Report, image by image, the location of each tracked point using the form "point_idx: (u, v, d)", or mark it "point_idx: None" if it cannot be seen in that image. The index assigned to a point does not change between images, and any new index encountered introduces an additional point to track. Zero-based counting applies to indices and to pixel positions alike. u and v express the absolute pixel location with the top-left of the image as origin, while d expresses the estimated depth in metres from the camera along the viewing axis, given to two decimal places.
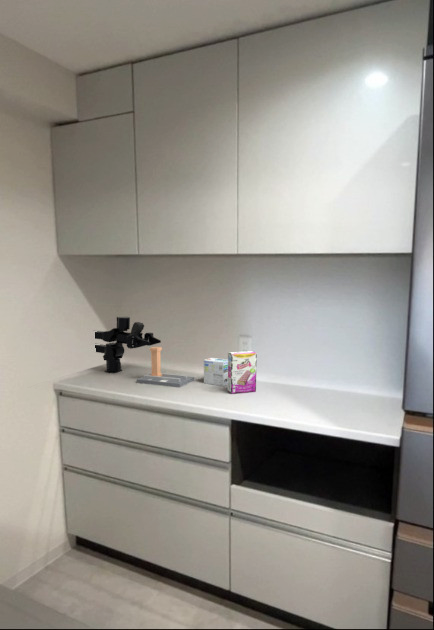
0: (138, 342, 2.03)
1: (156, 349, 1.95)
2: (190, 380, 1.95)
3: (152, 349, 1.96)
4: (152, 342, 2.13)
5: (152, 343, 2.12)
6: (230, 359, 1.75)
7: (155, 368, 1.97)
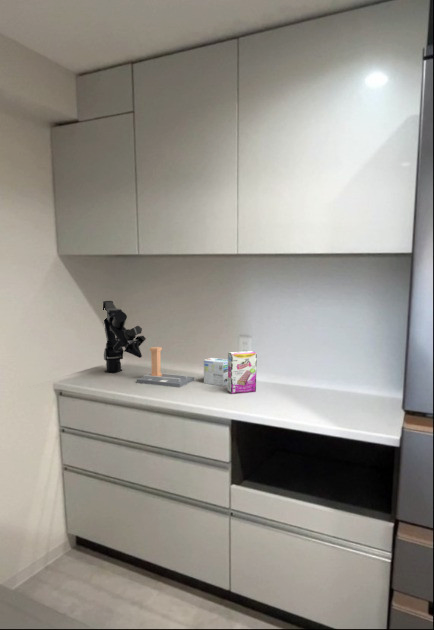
0: (131, 348, 2.01)
1: (156, 349, 1.95)
2: (190, 380, 1.95)
3: (152, 349, 1.96)
4: None
5: None
6: (230, 359, 1.75)
7: (155, 368, 1.97)
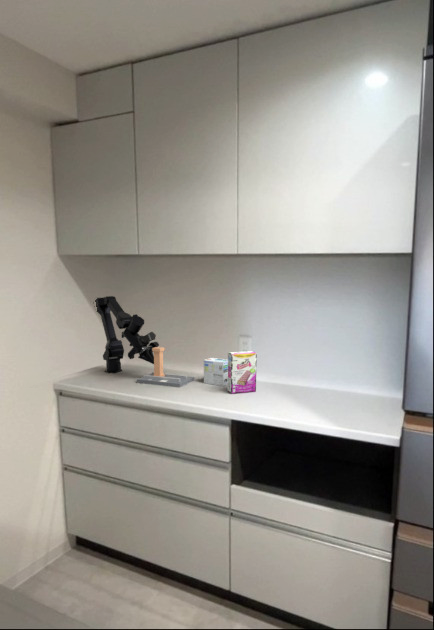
0: (145, 355, 1.98)
1: (159, 349, 1.95)
2: (190, 380, 1.95)
3: (155, 349, 1.95)
4: None
5: None
6: (230, 359, 1.75)
7: (158, 368, 1.96)
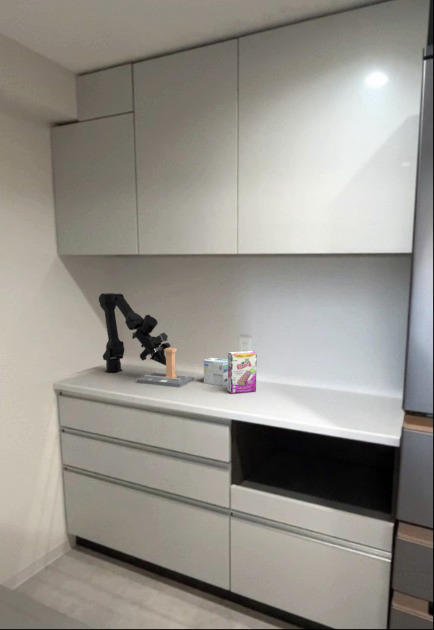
0: (157, 356, 1.96)
1: (171, 350, 1.92)
2: (190, 380, 1.95)
3: (167, 350, 1.93)
4: None
5: None
6: (230, 359, 1.75)
7: (170, 369, 1.94)
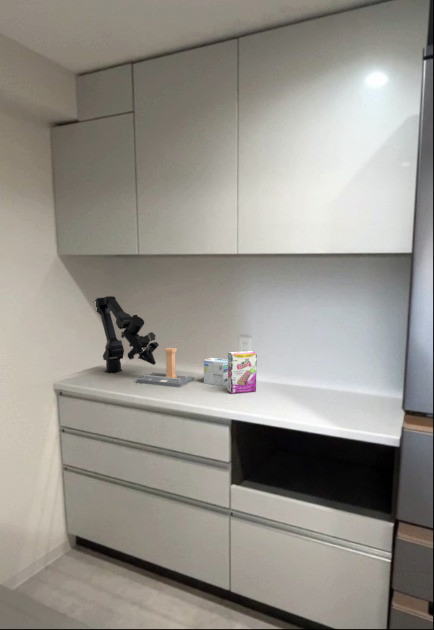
0: (145, 355, 1.99)
1: (171, 350, 1.92)
2: (190, 380, 1.95)
3: (167, 350, 1.93)
4: None
5: None
6: (230, 359, 1.75)
7: (170, 369, 1.94)
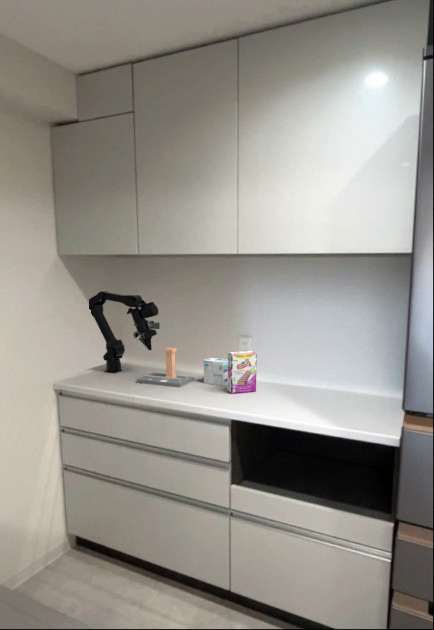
0: (147, 339, 2.10)
1: (171, 350, 1.92)
2: (190, 380, 1.95)
3: (167, 350, 1.93)
4: None
5: None
6: (230, 359, 1.75)
7: (170, 369, 1.94)
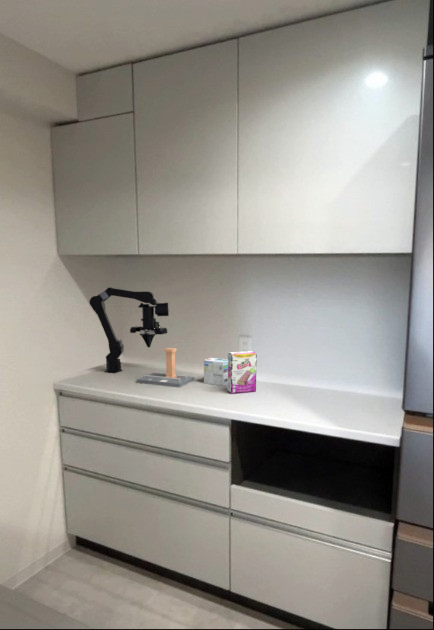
0: (150, 336, 2.17)
1: (171, 350, 1.92)
2: (190, 380, 1.95)
3: (167, 350, 1.93)
4: (146, 337, 2.17)
5: (146, 338, 2.16)
6: (230, 359, 1.75)
7: (170, 369, 1.94)
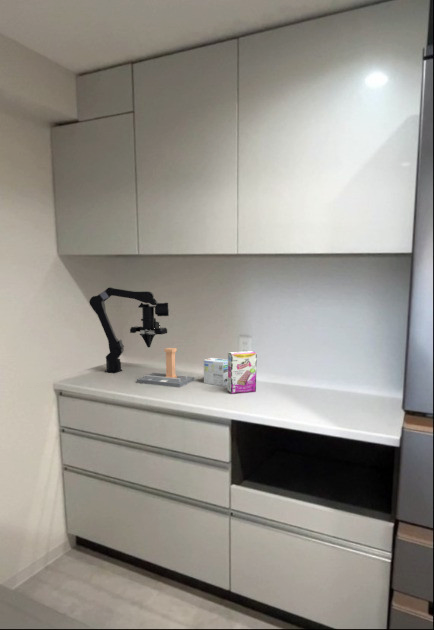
0: (150, 336, 2.17)
1: (171, 350, 1.92)
2: (190, 380, 1.95)
3: (167, 350, 1.93)
4: (146, 337, 2.17)
5: (146, 338, 2.16)
6: (230, 359, 1.75)
7: (170, 369, 1.94)
